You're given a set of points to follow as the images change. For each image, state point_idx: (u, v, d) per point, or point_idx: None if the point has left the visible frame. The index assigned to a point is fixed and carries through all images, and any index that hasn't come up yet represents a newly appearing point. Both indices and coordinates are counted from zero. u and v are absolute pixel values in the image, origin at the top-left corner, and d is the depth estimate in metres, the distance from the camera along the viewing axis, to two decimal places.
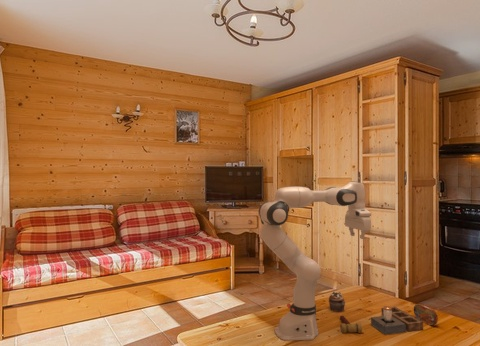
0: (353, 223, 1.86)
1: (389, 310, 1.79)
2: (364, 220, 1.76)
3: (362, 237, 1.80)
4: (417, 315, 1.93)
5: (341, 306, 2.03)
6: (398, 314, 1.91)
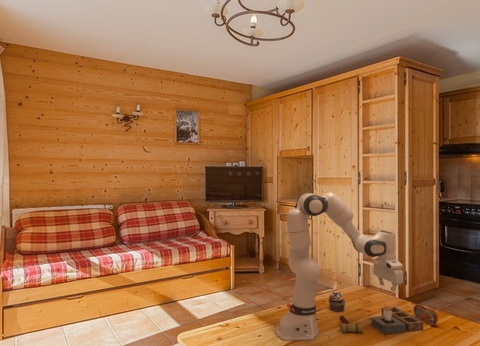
0: (383, 274, 1.82)
1: (389, 310, 1.79)
2: (396, 273, 1.72)
3: (393, 289, 1.76)
4: (417, 315, 1.93)
5: (341, 306, 2.03)
6: (398, 314, 1.91)
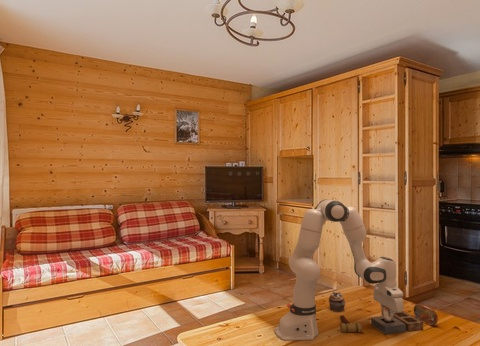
0: (383, 300, 1.81)
1: (389, 310, 1.79)
2: (396, 301, 1.72)
3: (391, 315, 1.78)
4: (417, 315, 1.93)
5: (341, 306, 2.03)
6: (398, 314, 1.91)
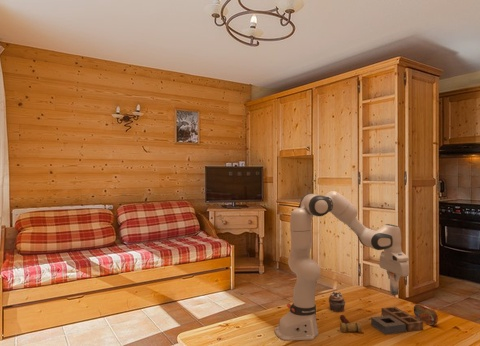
0: (389, 266, 1.85)
1: (395, 275, 1.82)
2: (402, 265, 1.75)
3: (397, 280, 1.81)
4: (417, 315, 1.93)
5: (341, 306, 2.03)
6: (398, 314, 1.91)
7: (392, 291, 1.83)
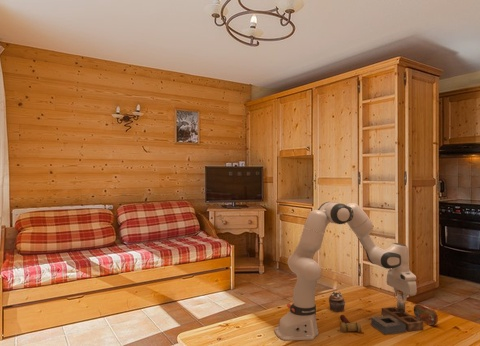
0: (396, 285, 1.89)
1: (402, 293, 1.87)
2: (410, 284, 1.79)
3: (404, 298, 1.85)
4: (417, 315, 1.93)
5: (341, 306, 2.03)
6: (398, 314, 1.91)
7: (399, 309, 1.87)
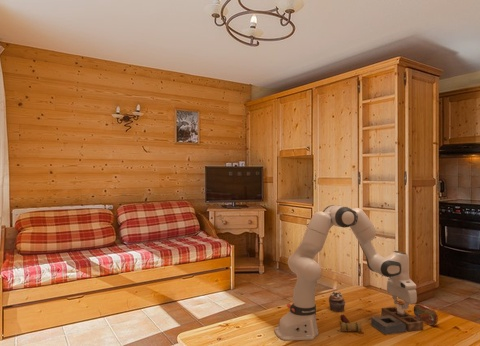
0: (397, 293, 1.89)
1: (402, 304, 1.87)
2: (410, 293, 1.79)
3: (406, 308, 1.84)
4: (417, 315, 1.93)
5: (341, 306, 2.03)
6: None
7: None
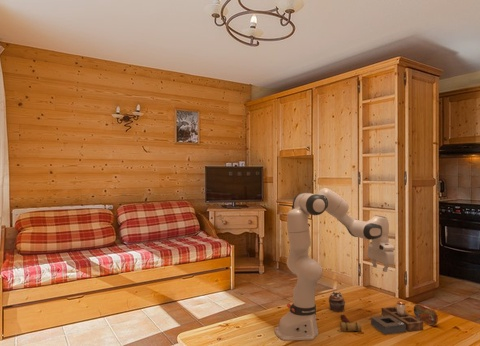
0: (376, 256, 1.93)
1: (403, 304, 1.87)
2: (388, 254, 1.83)
3: (385, 270, 1.87)
4: (417, 315, 1.93)
5: (341, 306, 2.03)
6: None
7: None
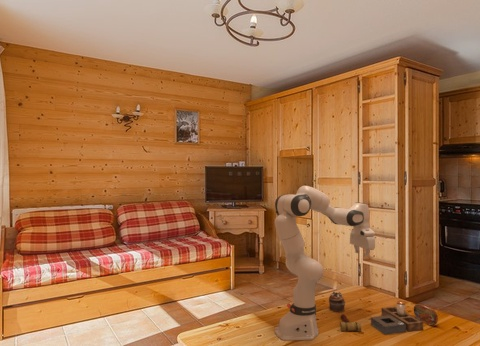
0: (358, 242, 1.97)
1: (402, 304, 1.87)
2: (368, 239, 1.88)
3: (366, 255, 1.92)
4: (417, 315, 1.93)
5: (341, 306, 2.03)
6: None
7: None
